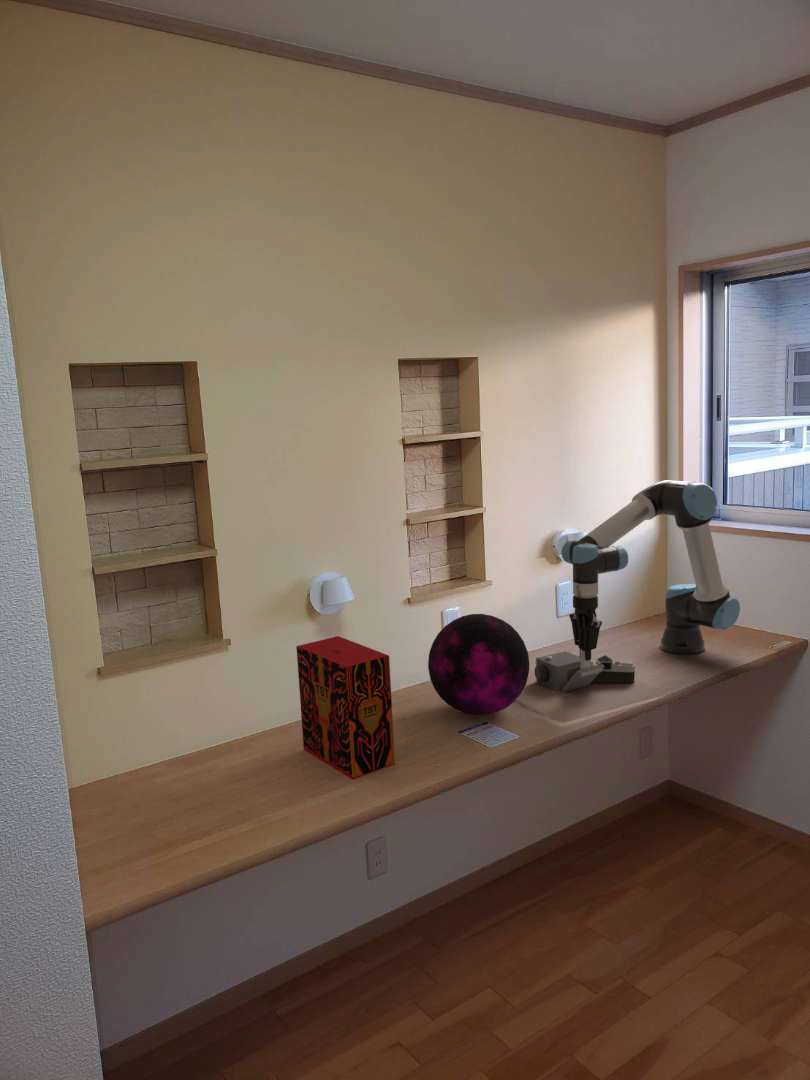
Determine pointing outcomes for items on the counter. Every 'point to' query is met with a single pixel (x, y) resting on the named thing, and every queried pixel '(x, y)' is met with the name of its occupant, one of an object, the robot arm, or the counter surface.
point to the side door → (582, 678)
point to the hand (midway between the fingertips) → (585, 669)
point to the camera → (613, 672)
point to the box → (346, 705)
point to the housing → (556, 669)
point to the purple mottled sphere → (478, 664)
